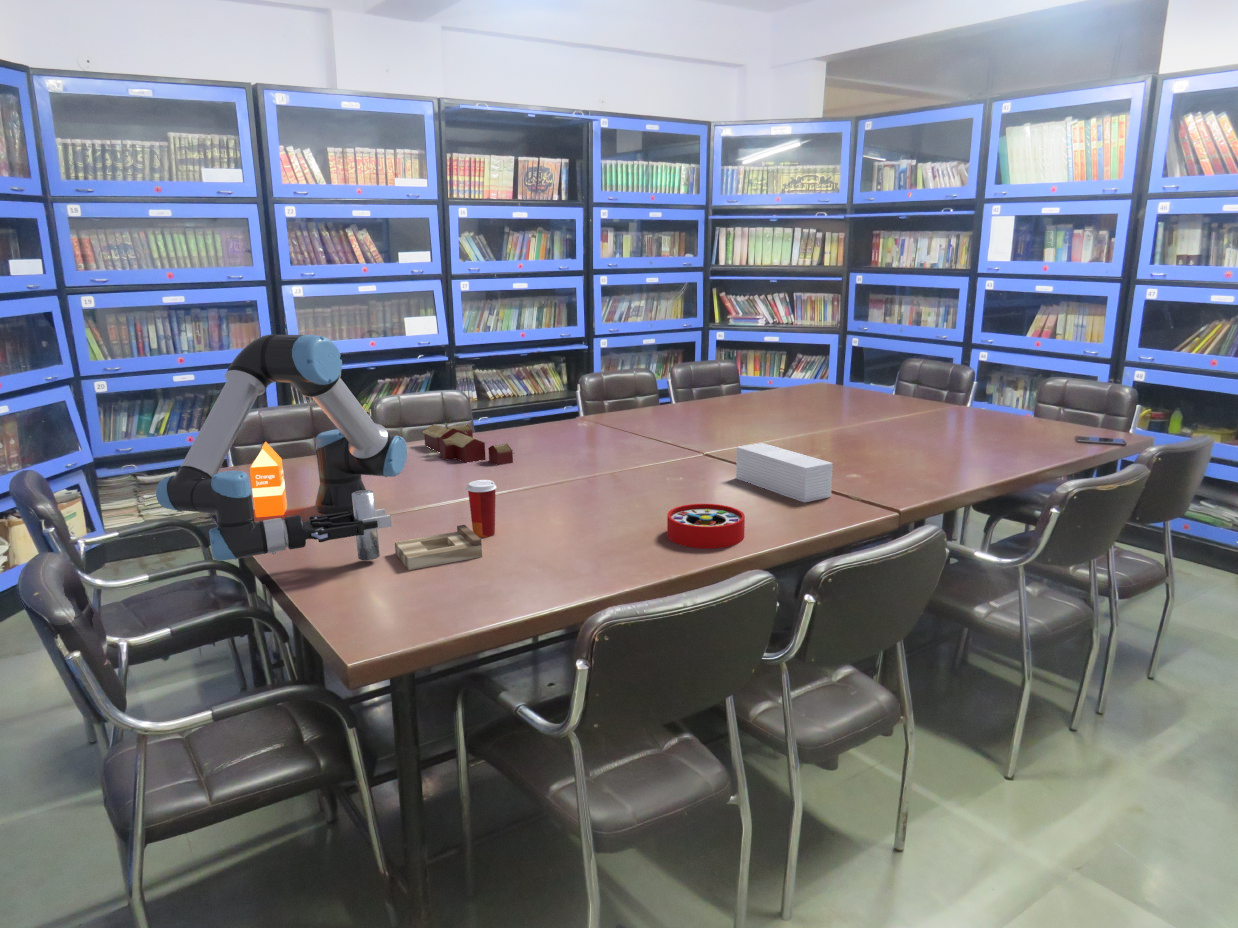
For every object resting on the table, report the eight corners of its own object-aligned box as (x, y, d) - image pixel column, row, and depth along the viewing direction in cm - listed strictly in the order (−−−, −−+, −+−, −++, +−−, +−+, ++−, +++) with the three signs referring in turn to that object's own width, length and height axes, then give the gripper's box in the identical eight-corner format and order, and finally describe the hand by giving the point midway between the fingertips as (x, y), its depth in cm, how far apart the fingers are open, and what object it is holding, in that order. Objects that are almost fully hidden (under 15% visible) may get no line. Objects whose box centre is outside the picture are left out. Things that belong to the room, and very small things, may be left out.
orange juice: (255, 517, 236) (246, 449, 231) (259, 508, 245) (251, 442, 240) (284, 514, 238) (276, 447, 233) (287, 506, 247) (280, 440, 242)
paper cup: (500, 529, 224) (497, 478, 220) (497, 538, 216) (494, 486, 213) (471, 529, 224) (468, 479, 220) (467, 539, 216) (463, 487, 213)
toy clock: (716, 532, 202) (651, 516, 215) (715, 555, 204) (651, 538, 216) (759, 512, 217) (696, 499, 229) (758, 534, 218) (696, 519, 231)
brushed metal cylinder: (356, 555, 201) (349, 491, 197) (377, 551, 204) (371, 488, 200) (360, 561, 197) (354, 497, 193) (381, 557, 199) (375, 494, 195)
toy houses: (418, 448, 320) (416, 422, 317) (467, 440, 331) (465, 415, 329) (469, 472, 284) (467, 443, 282) (522, 462, 296) (520, 435, 293)
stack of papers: (735, 479, 271) (736, 446, 268) (761, 474, 276) (762, 442, 274) (804, 503, 244) (806, 467, 242) (831, 497, 250) (832, 462, 247)
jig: (395, 553, 207) (394, 536, 205) (465, 541, 215) (464, 524, 214) (408, 570, 195) (407, 552, 194) (482, 556, 204) (481, 539, 203)
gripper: (282, 537, 199) (380, 521, 209) (292, 561, 183) (398, 543, 194) (278, 507, 197) (378, 493, 207) (288, 529, 181) (395, 512, 192)
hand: (387, 517), depth 201 cm, fingers closed on brushed metal cylinder, 5 cm apart
